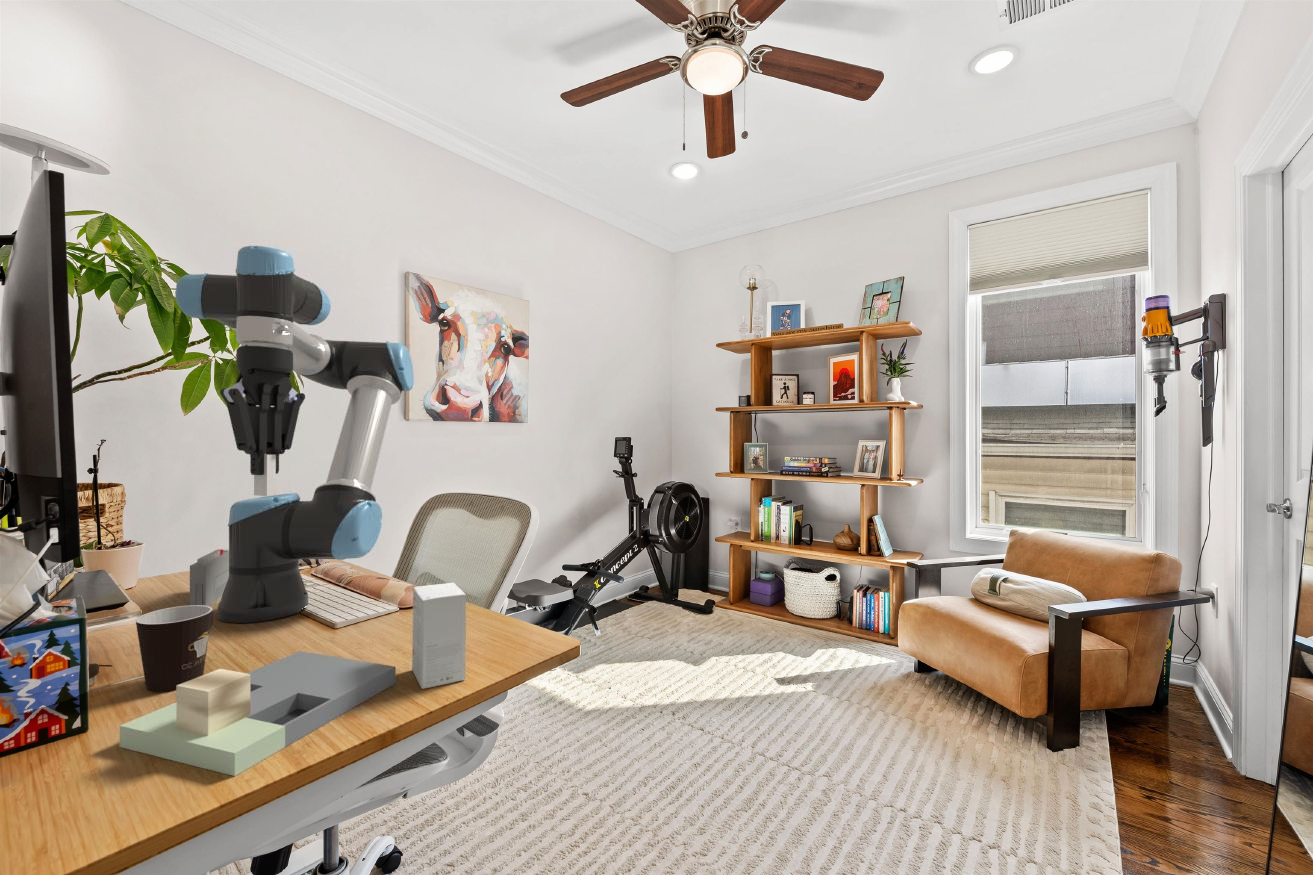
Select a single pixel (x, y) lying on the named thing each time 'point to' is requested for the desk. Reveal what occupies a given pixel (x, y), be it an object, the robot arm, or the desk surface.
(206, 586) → the cassette player
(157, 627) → the coffee mug
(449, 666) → the small box
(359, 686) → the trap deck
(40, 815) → the desk surface
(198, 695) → the maple block
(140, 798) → the desk surface
